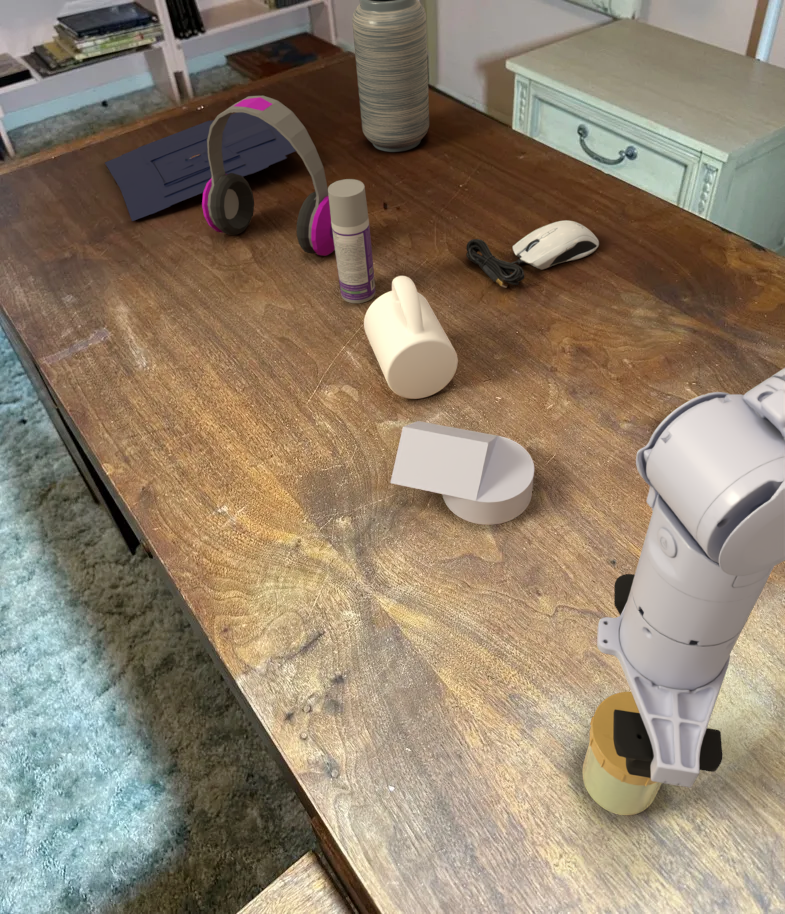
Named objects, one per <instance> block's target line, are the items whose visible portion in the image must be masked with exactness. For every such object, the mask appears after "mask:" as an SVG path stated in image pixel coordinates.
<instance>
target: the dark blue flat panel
mask: <svg viewBox="0 0 785 914" xmlns="http://www.w3.org/2000/svg"><path fill="white" fill-rule="evenodd" d="M214 120H215V119H212V120H206V121H204V122H202V123H199V124H196V125H194V126H191V127H189V128H186V129H183V130H180V131H178V132H175V133H173V134H170V135H168V136H165V137H163V138H160V139H157V140H154V141H152V142H148V143H147V144H144V145H141V146H138V147H137V148H135V149H133V150H130V151H128V152H126V153H123V154H121V155H120V156H117V157H115V158H111V159H109V160H107V161H105V162H104V164H105V166H106V167H107V169H108V171H109V173H110V174H111V176H112V177H113V179H114V181H115V182H116V184H117V186H118V188H119V189H120V192H121V195H122V197H123V200H124V203H125V205H126V209H127V212H128V215H129V217H130V219H131V222H134V221H136V220H139V219H142V218H145V217H147V216H149V215H154V214H156V213H158V212H161V211H163V210H165V209H167V208H170V207H172V206H174V205H176V204H178V203H181V202H182V201H186V200H188V199H190V198H193V197H196V196H198V195H200V194H203V192H204V189H205V187H206V184H207V182H208V181H209V180H210V179H211V178H212V175H211V170H210V165H209V160H208V149H207V138H208V134H209V129H210V126H211V124H212V123H213V121H214ZM295 152H297V151H296V150H295V149H294V147H293V146H292V145H291V143H290V142H289V141H288V140H287V139H286V138H285V137H284V136H283V135H282V134H281V133H280V132H279V131H277V130H276V129H275V128H274V127H273V126H271V125H270V124H268V123H267V122H265V121H263V120H262V119H260V118H259V117H256V116H253V115H250V114H247V113H244V112H234V113H232V114H231V116H230V117H229V118H228V121H227V123H226V126H225V128H224V131H223V135H222V157H223V166H224V170H225V174H229V173H234V174H238V175H241V176H242V177H243V178H244V177H245V176H247V177H248V176H250V175H253V174H255V173H257V172H260V171H262V170H264V169H267V168H269V166H271V165H274V164H277V163H280V162H282V161H284V160H286V159H288V155H290V154H292V153H295Z"/></svg>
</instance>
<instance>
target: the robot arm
mask: <svg viewBox="0 0 785 914" xmlns="http://www.w3.org/2000/svg"><path fill="white" fill-rule="evenodd" d="M635 455H636V457H635V467H636V471H637V472H638V475H640V477H641V478H642V479H643V481H644V482H645V483H646V484H647V485H648V486H649V489H648V493H647V497H646V503H647V505H648V507H649V508H650V509H651V511H652V513H651V516H650V519H649V523H648V527H647V530H646V534H645V538H644V541H643V544H642V548H641V551H640V555H639V559H638V561H637V565H636V568H635V572H634V574H633V573H624V574H622V575H620V576H618V577H617V578H616V580H615V582H614V595H613V596H614V597H613V598H614V600H613V601H614V602H613V603H614V607H615V609H616V611H617V612H618V614H619V615H618V616H617V617H611V616H603V617H601V618H600V619H599V621H598V624H597V629H596V634H597V635H596V646H597V649H598V652H599V651H600V653H602V654H604V655H608V656H609V655H610V656H614V657H615V658H616V659H617V660H618V662H619V665H620V667H621V669H622V672H623V675H624V677H625V680H626V682H627V684H628V687H629V690H630V692H632V695H633V697H634V700H635V702H636V705H637V707H638V710H639V712H640V713H635V712H629V711H623V710H616V709H615V710H614V723H613V740H614V746H615V750H616V753H617V755H618V756H621V757H625V758H626V768H627V771H628V773H629V774H630V775H636V776H642V777H647V778H651V780H652V781H654V782H660V783H662V784H665V785H671V786H676V787H684V788H692V787H693V785H694V783H695V782H696V780H697V778H698V777H699V775H700V772H701V771H702V772H703V771H704V772H710V773H715V772H716V771H717V770H718V769H719V767H720V765H721V764H722V761H723V753H724V752H723V743H722V732H721V731H720V730H719V729H714V728H709V727H708V726H709V723H710V720H711V717H712V714H713V711H714V708H715V706H716V703H717V699H718V697H719V695H720V691H721V689H722V686H723V683H724V679H725V678H726V677H725V676H726V674H727V671H728V668H729V664H730V660H731V653H732V651H733V649H734V647H735V646H736V643H737V641H738V639H739V637H740V635H741V633H742V631H743V629H744V628H745V625H746V624H747V622H748V620H749V617H750V615H751V613H752V612H753V610H754V608H755V606H756V604H757V601H758V599H759V597H760V595H761V594H762V591H763V590H764V588H765V586H766V583H767V582H768V580H769V578H770V575H771V574H772V571H773V570H774V568H775V566H778V565H779V564H781V563H783V562H785V367H783V368H782V369H780V370H779V371H777V372H776V373H774V374H772V375H771V376H769V377H768V378H766V379H765V380H763V381H762V382H760V383H758V384H757V385H755V386H753V387H752V388H751V389H749V390H748V391H746V392H745V393H744V394H741V393H739V394H738V393H737V394H736V393H735V394H734V393H733V394H731V393H728V392H724V391H712V392H708V393H705V394H701V395H698V396H696V397H694V398H691V399H689V400H688V401H686V402H684V403H683V404H681V405H679V406H678V407H677V408H675V409H674V410H672V411H671V412H670V413H669V414H668V415H667V416H666V417H665V418H664V419H663V420H662V421H661V422H660V423H659V424H658V425H657V427H656V428H655V429H654V431H653V433H652V435H651V436H650V438H649V441H648V442H647V444H646V445H644V446H643V447H641V448H639V449H638V450H637V452H636V454H635Z"/></svg>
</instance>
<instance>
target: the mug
mask: <svg viewBox="0 0 785 914" xmlns="http://www.w3.org/2000/svg"><path fill="white" fill-rule="evenodd" d="M363 329H364V332H365V336H366V338H367V340H368V343H369V345H370V347H371V349H372V351H373V354H374V357H375V358H376V361H377V363H378V365H379V367H380V369H381V373H382V374H383V377H384V378H385V381H386V383H387V386H388V388H389V389H390V390H391V391H392V392H393V394H395V395H397V396H399V397H401V398H404V399H409V400H417V399H424V398H428V397H431V396H433V395H435V394H437V393H439V392H440V391H441V390H443V389H444V388H445V387H446V386H448V384H449V383H450V382H451V381H452V379H453V378H454V376H455V374H456V372H457V369H458V363H459V360H458V354H457V351H456V350H455V347H454V346H453V344H452V343H451V340H450V339H449V337H448V335H447V334H446V332H445V330H444V328H443V326H442V325H441V323H440V321H439V319H438V317H437V316H436V314H435V312H434V310H433V308H432V306H431V305H430V303H429V302H428V299H426V297H425V296H424V295H423V294H422V293H420V292H418V289H417V286H416V285H415V283H414V280H413V279H411V278H410V277H409V276H406V275H398V276H395V277H394V278H393V279H392V281H391V290H390V291H387V292H385V293H383V294H381V295H380V296H379V297H377V298H376V299H374V301H373V302H372V303H371V304H370V306H369V307H368V309H367V310H366V313H365V315H364V318H363Z"/></svg>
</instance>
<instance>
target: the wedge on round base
mask: <svg viewBox="0 0 785 914" xmlns="http://www.w3.org/2000/svg"><path fill="white" fill-rule="evenodd" d="M398 442H399V443H398V447H397V451H396V455H395V461H394V464H393V469H392V473H391V478H390V482H389V484H393V485H398V486H402V487H407V488H411V489H417V490H422V491H427V492H431V493H436V494H441V495H442V499H443V501H444V503H445V505H446V507H447V508H448V509H449V511H451V512H452V513H453V514H454V515H455V516H456V517H458V518H460V519H462V520H464V521H466V522H469V523H473V524H475V525H484V526H492V525H493V526H494V525H500V524H504V523H507V522H511V521H513V520H515V519H516V518H518V517H519V516H520V515H521V514H523V513H524V512H525V511H526V509H527V508H528V507H529V505H530V503H531V500H532V498H533V497H532V496H533V486H534V477H535V464H534V460H533V458H532V456H531V454H530V453H529V451H528V450H526V448H525V447H524V446H523V445H521V444H520V443H518V442H517V441H515V440H513V439H511V438H508V437H505V436H501V435H496V434H491V433H486V432H480V431H475V430H469V429H464V428H459V427H454V426H447V425H444V424H443V425H442V424H437V423H432V422H427V421H422V420H421V421H420V420H417V421H414V422H411V423H408V424H407V425H404V426H402V429H401V434H400V438H399V441H398Z"/></svg>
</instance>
